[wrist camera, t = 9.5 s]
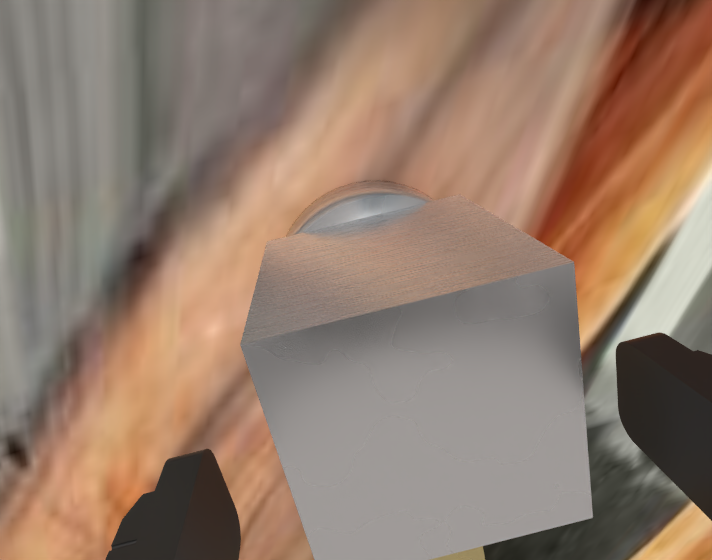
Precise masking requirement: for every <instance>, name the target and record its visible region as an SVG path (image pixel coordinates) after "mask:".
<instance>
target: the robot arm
mask: <svg viewBox="0 0 712 560" xmlns="http://www.w3.org/2000/svg"><path fill="white" fill-rule="evenodd" d="M616 370H617V391H618V409H619V415H620V419H621V421H622V424H623V426H624V428H625V430H626V432H627V434H628V435H629V437H630V438H631V439H632V441H633V442H634V443H635V444H636V445H637V446H638V447H639V448H640V449H641V450H642V451H643V452H644V453H645V454H646V455H647V456H648V457H649V458H650V459H651V460H652V461H653V462H654V463H655V464H656V465H657V466H658V467H659V468H660V469H661V470H662V471H663V472H664V473H665V474H666V475H667V476H668V477H669V478H670V479H671V480H672V481H673V482H674V483H675V484H676V485H677V486H678V487H679V488H680V489H681V490H682V491H683V492H684V493H685V494H686V495H687V496H688V497H689V498H690V499H691V500H692V501H693V502H694V503H695V504H696V505H697V506H698V507H699V508H700V509H701V510H702V511H703V512H704V513H705V514H706V515H707V516H708V517H709V518H710V519H711V520H712V355H711V354H708V353H705V352H702V351H698V350H697V351H692V350H690V349H688V348H687V347H685V346H684V345H682V344H680V343H679V342H677V341H676V340H674V339H672V338H671V337H669V336H668V335H666V334H664V333H655V334H651V335H647V336H644V337H640V338H636V339H632V340H628V341H624V342H621V343H619V344H618V346H617V348H616ZM240 541H241V536H240V524H239V519H238V514H237V511H236V508H235V505H234V503H233V501H232V498H231V496H230V493H229V491H228V488H227V486H226V483H225V481H224V478H223V476H222V473H221V471H220V468H219V466H218V463H217V461H216V458H215V456H214V454H213V453H212V451H211V450H209V449H205V450H201V451H197V452H193V453H189V454H185V455H182V456H178V457H174V458H170V459H168V460H167V461H166V463H165V465H164V467H163V470H162V473H161V475H160V478H159V481H158V484H157V486H156V489H155V491H153V492H150V493H146V494H143V495H142V496H141V497H140V498H139V500H138V501H137V502H136V503H135V505H134V506H133V507H132V508H131V509H130V511H129V512H128V513H127V514H126V516H125V517H124V518H123V519H122V522H121V524H120V526H119V529H118V531H117V534H116V536H115V538H114V541H113V543H112V545H111V546H112V551H109V553H108V555H107V557H106V560H238V559H239V551H240Z"/></svg>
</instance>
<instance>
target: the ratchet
mask: <svg viewBox="0 0 712 560" xmlns="http://www.w3.org/2000/svg"><path fill="white" fill-rule="evenodd" d="M431 201H434V200H433V199H431V198H430V197H429V196H427V195H426V194H424V193H422V192H420V191H418V190H417V189H414V188H412V187H409V186H406V185H404V184H399V183H395V182H390V181H379V180H377V181H362V182H356V183H351V184H348V185H345V186H342V187H339V188H337V189H334V190H332V191H330V192H328V193H326V194H325V195H323V196H321V197H320V198H318V199H317V200H315V201H314V202H313V203H312V204H311V205H309V206H308V207H307V208H306V209H305V210H304V211H303V212H302V213H301V214H300V216H299V217H298V218H297V219H296V220H295V222H294V223H293V225H292V226H291V228H290V229H289V231H288V233H287V235H286V237H287V236H292V235H296V234H300V233H304V232H308V231H312V230H316V229H320V228H324V227H328V226H332V225H337V224H341V223H345V222H349V221H353V220H357V219H361V218H365V217H369V216H373V215H377V214H381V213H386V212H390V211H394V210H398V209H402V208H406V207H410V206H414V205H418V204H422V203H426V202H431ZM430 560H485V556H484V550H483V546H481V547H477V548H473V549H469V550H465V551H461V552H457V553H454V554H450V555H446V556H442V557H438V558H434V559H430Z"/></svg>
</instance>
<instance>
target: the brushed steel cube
mask: <svg viewBox="0 0 712 560" xmlns="http://www.w3.org/2000/svg"><path fill="white" fill-rule="evenodd" d="M240 345H241V348H242V351H243V354H244V357H245V360H246V363H247V365H248V368H249V371H250V374H251V377H252V380H253V383H254V386H255V389H256V392H257V394H258V397H259V400H260V403H261V406H262V409H263V412H264V415H265V418H266V420H267V423H268V426H269V429H270V432H271V435H272V438H273V441H274V444H275V447H276V449H277V452H278V455H279V458H280V461H281V464H282V467H283V470H284V473H285V475H286V478H287V481H288V484H289V487H290V490H291V493H292V496H293V499H294V502H295V504H296V507H297V510H298V513H299V516H300V519H301V522H302V525H303V528H304V530H305V533H306V536H307V539H308V542H309V545H310V548H311V551H312V554H313V557H314V559H315V560H430V559H434V558H438V557H442V556H446V555H450V554H454V553H457V552H461V551H465V550H469V549H473V548H477V547H481V546H485V545H489V544H493V543H496V542H500V541H504V540H508V539H512V538H516V537H520V536H524V535H528V534H532V533H535V532H539V531H543V530H547V529H551V528H555V527H559V526H563V525H567V524H571V523H574V522H578V521H582V520H586V519H590V518H593V513H592V500H591V486H590V473H589V459H588V445H587V432H586V418H585V405H584V391H583V377H582V364H581V350H580V337H579V323H578V310H577V296H576V282H575V269H574V262H573V261H571V260H570V259H568V258H566V257H565V256H563V255H561V254H560V253H558V252H556V251H554V250H553V249H551V248H549V247H548V246H546V245H544V244H543V243H541V242H539V241H538V240H536V239H534V238H533V237H531V236H529V235H528V234H526V233H524V232H523V231H521V230H519V229H518V228H516V227H514V226H513V225H511V224H509V223H508V222H506V221H504V220H503V219H501V218H499V217H497V216H496V215H494V214H492V213H491V212H489V211H487V210H486V209H484V208H482V207H481V206H479V205H477V204H476V203H474V202H472V201H471V200H469V199H467V198H466V197H464V196H462V195H461V194H459V195H455V196H451V197H447V198H443V199H439V200H435V201H431V202H426V203H422V204H418V205H414V206H410V207H406V208H402V209H398V210H394V211H390V212H386V213H381V214H377V215H373V216H369V217H365V218H361V219H357V220H353V221H349V222H345V223H341V224H337V225H332V226H328V227H324V228H320V229H316V230H312V231H308V232H304V233H300V234H296V235H292V236H287V237H283V238H279V239H275V240H271V241H267V244H266V248H265V252H264V256H263V260H262V263H261V267H260V271H259V275H258V279H257V283H256V286H255V290H254V294H253V298H252V302H251V306H250V310H249V313H248V317H247V321H246V325H245V329H244V333H243V337H242V340H241V344H240Z"/></svg>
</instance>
